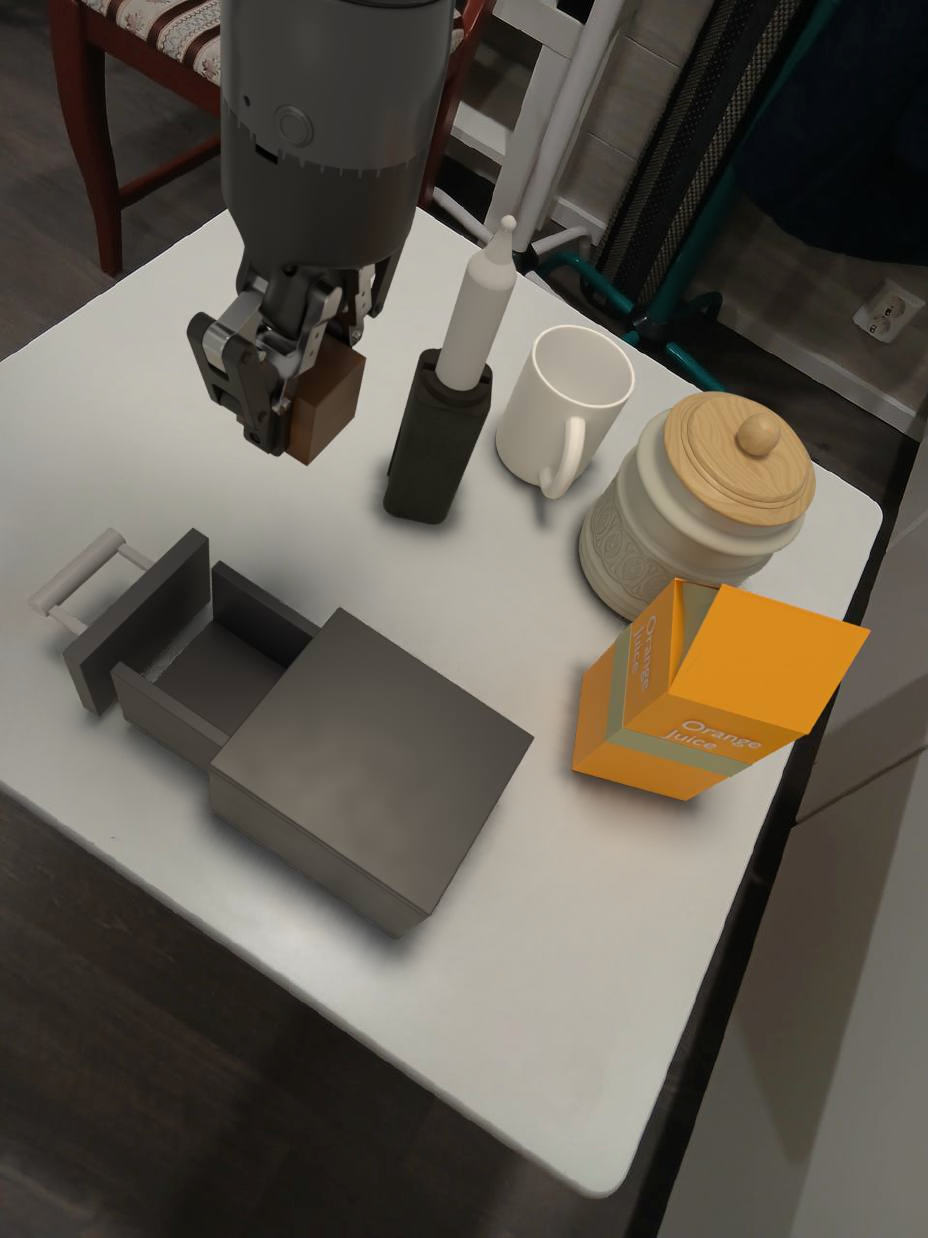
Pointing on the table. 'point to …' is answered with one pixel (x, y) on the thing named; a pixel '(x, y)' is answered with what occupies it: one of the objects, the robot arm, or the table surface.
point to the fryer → (367, 773)
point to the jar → (697, 501)
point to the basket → (151, 619)
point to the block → (322, 397)
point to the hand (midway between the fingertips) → (295, 415)
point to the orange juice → (707, 687)
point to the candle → (452, 391)
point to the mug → (563, 406)
